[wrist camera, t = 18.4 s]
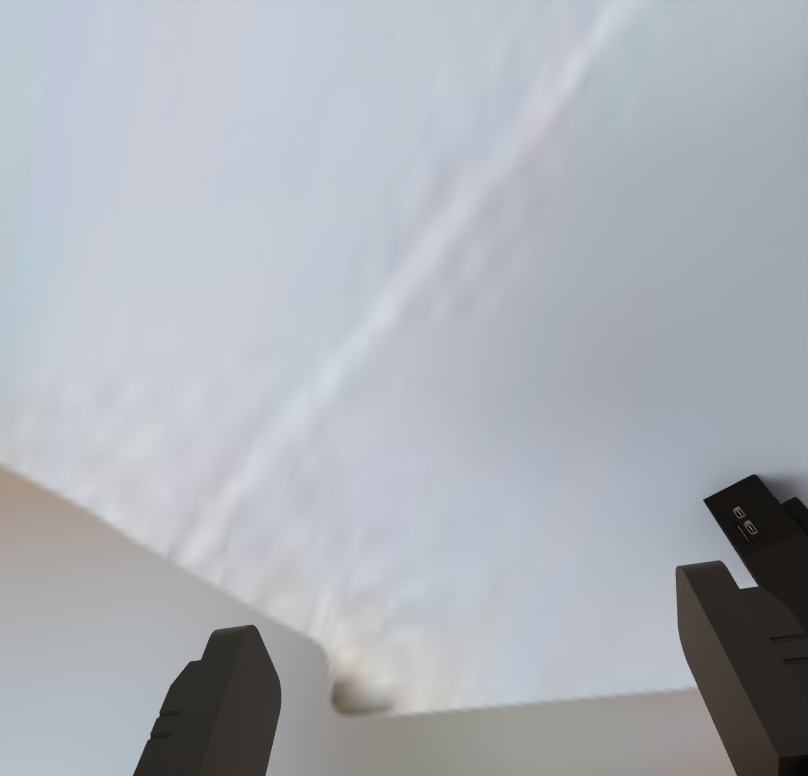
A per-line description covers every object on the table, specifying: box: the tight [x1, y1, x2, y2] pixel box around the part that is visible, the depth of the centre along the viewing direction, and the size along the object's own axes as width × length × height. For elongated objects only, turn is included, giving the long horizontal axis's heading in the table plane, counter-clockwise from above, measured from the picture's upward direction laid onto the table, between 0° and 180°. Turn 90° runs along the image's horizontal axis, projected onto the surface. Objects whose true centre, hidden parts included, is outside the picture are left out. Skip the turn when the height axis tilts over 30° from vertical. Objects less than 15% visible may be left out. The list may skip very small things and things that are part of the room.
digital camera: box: [703, 475, 808, 638], centre depth 48 cm, size 10×5×7 cm, turn 36°
